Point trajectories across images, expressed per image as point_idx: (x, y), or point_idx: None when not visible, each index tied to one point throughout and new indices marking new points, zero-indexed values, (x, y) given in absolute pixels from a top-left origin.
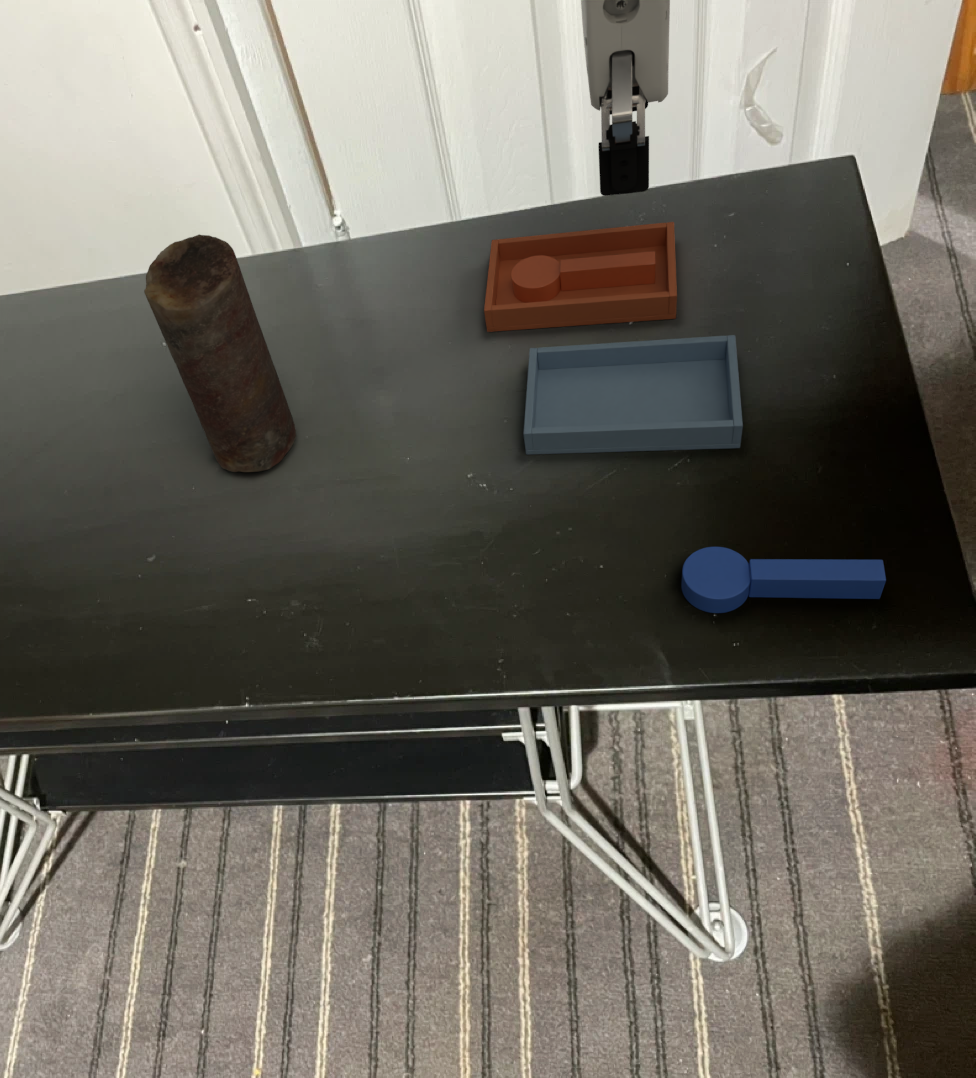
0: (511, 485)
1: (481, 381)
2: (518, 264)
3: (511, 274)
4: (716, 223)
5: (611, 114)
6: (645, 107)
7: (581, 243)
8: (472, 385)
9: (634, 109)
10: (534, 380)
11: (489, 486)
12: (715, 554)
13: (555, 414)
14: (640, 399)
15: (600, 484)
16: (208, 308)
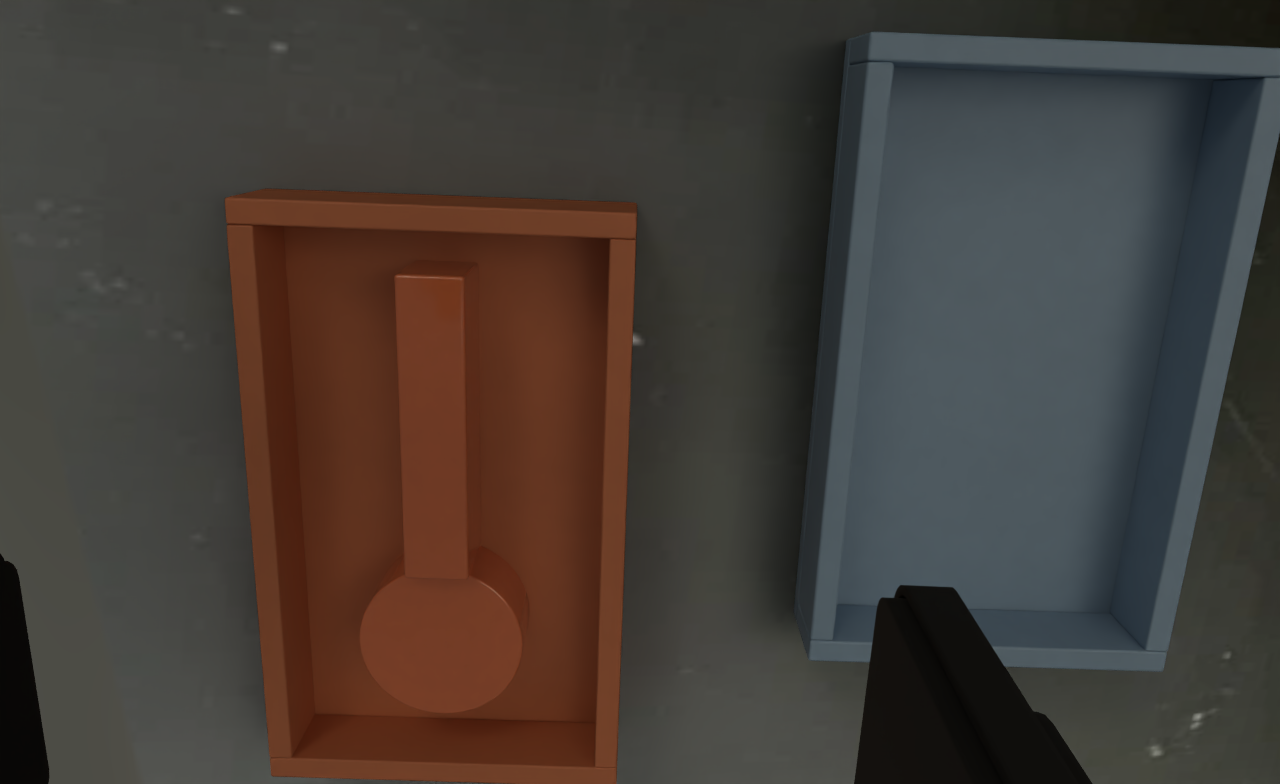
0: (1214, 654)
1: (815, 736)
2: (398, 693)
3: (445, 712)
4: (154, 32)
5: (44, 752)
6: (2, 563)
7: (286, 496)
8: (827, 757)
9: (15, 629)
10: None
11: (1204, 705)
12: None
13: (1006, 558)
14: (996, 330)
15: (1267, 440)
16: None
